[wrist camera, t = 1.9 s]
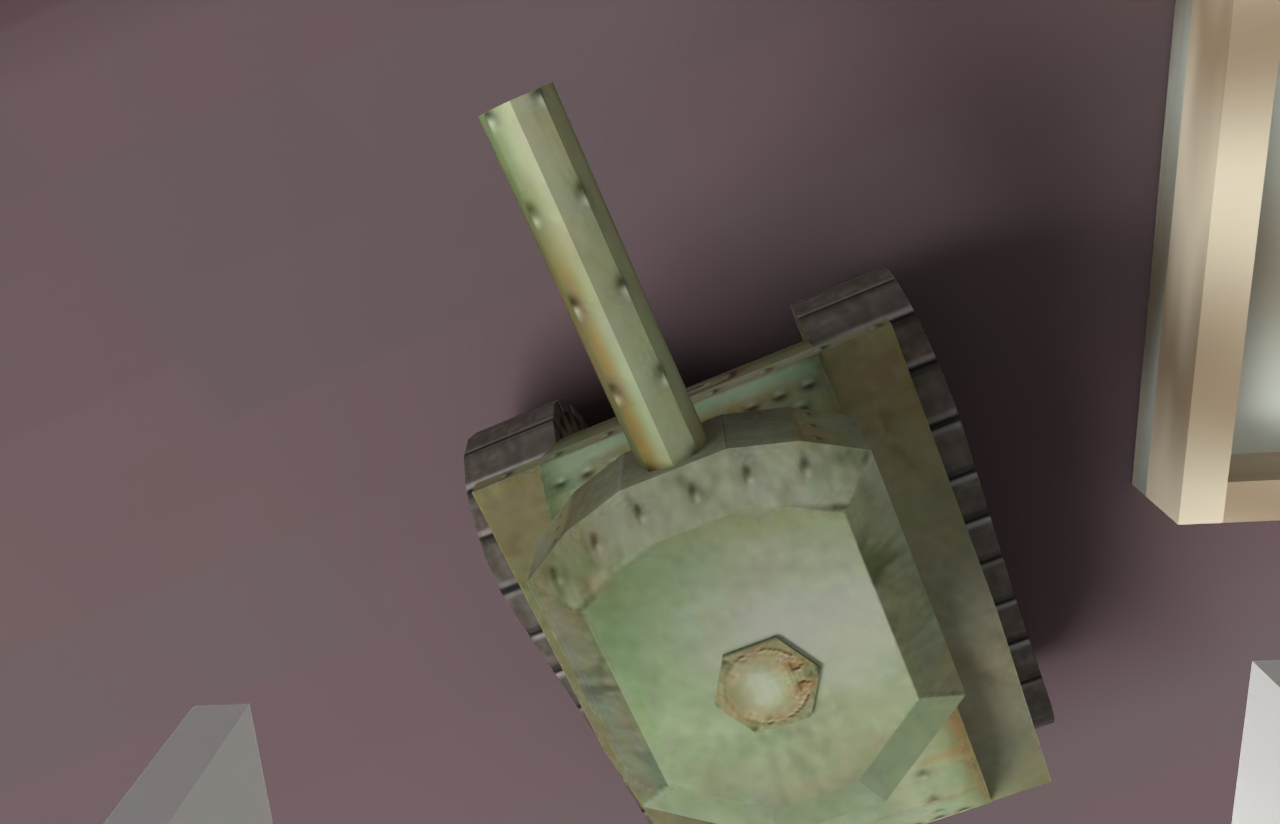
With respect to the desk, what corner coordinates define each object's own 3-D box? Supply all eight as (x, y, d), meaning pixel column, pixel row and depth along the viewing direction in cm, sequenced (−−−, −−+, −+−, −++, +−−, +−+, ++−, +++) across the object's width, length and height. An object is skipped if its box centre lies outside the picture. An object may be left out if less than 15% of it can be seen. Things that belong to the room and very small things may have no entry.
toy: (772, -2, 23) (846, -57, 14) (1019, 669, 28) (1199, 972, 19) (376, 179, 25) (191, 245, 15) (678, 786, 30) (684, 1124, 20)
